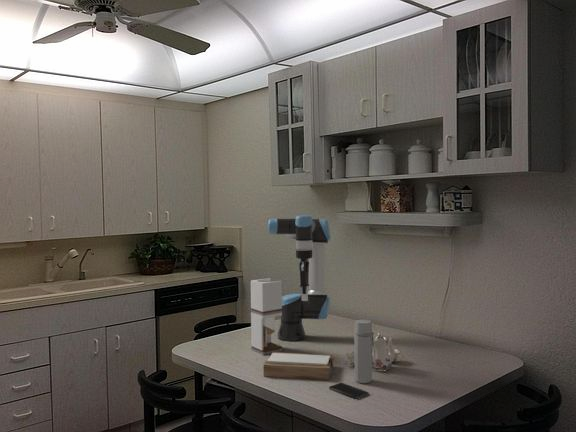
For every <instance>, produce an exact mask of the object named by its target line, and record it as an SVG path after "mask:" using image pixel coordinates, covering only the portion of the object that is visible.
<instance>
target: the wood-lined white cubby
mask: <svg viewBox="0 0 576 432" xmlns="http://www.w3.org/2000/svg"><path fill="white" fill-rule="evenodd" d="M282 283H283V281H282V280H277V281H276V280H274V281H271V278H270V277H269V278H263V279H262V278H261V279H252V280H250V329H251V330H250V332H251V333H250V336H251V338H250V340H251V348H250V349H251V351H252V352H255V353H257V354H260V355H262V356H266V355H269V354H270V355H271V354H272V352H279V353H280V352H282V351H283V346H282V345H280V344H277V343H274V342H272V334H274V333H275V332H276V324H275V322H276V321H275V320H276V319H275V318H276V317H281V315H282V297H283V292H282V291H283V289H282Z"/></svg>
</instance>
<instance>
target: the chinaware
mask: <svg viewBox="0 0 576 432" xmlns="http://www.w3.org/2000/svg"><path fill="white" fill-rule="evenodd" d="M393 338H394V337H393V336H390V337H389V339H387V338H386V337H384V336H383V335H382V333H381V332H378V333H377V335H376V336H373V341H374V349H373V350H372V367H373V368H374V365H375V359H376V366H375V368H374V369H373V368H372V371H373V370H377V371H384V370H388V369H389V370H390V367H392V365H393V363H392V362H393V361H394V362H398V360H399V361H401V360H402V359H403V358H404V356H403V354H402V353H401V350H398V349H397V348H394V346H393V342H392V341H393ZM387 340H388V343H387ZM387 344H388V348H387ZM374 350H375V359H374ZM345 354H346V357H345V359H344V364H345V365H346V366H348V365H349V366H350V367H353V366H355V351H352V352H346V353H345ZM399 355H401V356H402V357H401V358H400V359H399V358H398V357H399ZM346 361H348V363H346ZM389 370H388V371H389ZM377 371H376V372H377Z"/></svg>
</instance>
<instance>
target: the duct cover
mask: <svg viewBox="0 0 576 432" xmlns="http://www.w3.org/2000/svg"><path fill="white" fill-rule="evenodd" d="M284 353H285V352H279V353H271V354H272V355H271V354H270V357H268V359H267V360H268V361H267V360H266V361H267V363H285V364H304V365H323V366H327V365H328V362H329V359H330V356H326V355H327V354H321V355H305V354H306V353H300V354H284Z"/></svg>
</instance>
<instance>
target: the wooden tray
mask: <svg viewBox="0 0 576 432" xmlns="http://www.w3.org/2000/svg"><path fill="white" fill-rule="evenodd" d="M272 353H280V351H279V352H272ZM272 353H270V356H271V355H272ZM283 353H284V354H301V353H300V352H299V353H298V352H296V353H295V352H283ZM304 354H305V355H322V354H321V353H319V354H316V353H315V354H314V353H304ZM325 355H326V356H330V359H329V362H328V365H327V366H323V365H304V364H285V363H267V361H268V359H266V360H265V362H264V363H263V377H268V378H269V377H270V378H273V377H274V378H287V379H289V378H290V379H304V380H322V381H330V378H331V374H332V373H333V368H334V355H333V354H325Z"/></svg>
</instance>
